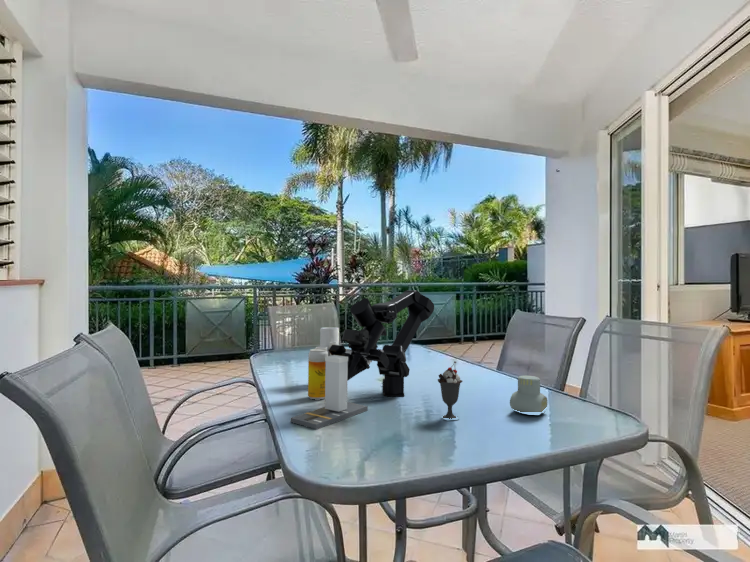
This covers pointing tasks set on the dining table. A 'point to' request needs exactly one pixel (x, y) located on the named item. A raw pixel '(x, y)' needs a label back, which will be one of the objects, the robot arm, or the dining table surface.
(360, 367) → the robot arm
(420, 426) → the dining table surface
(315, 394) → the beer can
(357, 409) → the console
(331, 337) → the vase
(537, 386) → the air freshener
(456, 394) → the sundae
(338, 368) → the fader tab
